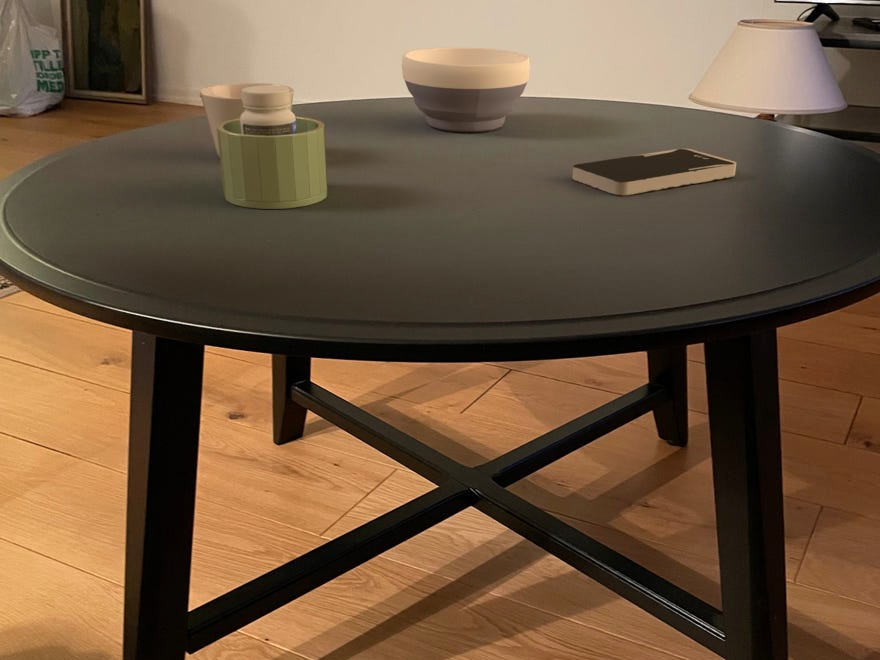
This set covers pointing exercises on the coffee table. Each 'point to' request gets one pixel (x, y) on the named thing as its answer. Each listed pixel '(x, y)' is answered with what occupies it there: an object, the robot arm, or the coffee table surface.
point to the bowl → (465, 86)
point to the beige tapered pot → (226, 104)
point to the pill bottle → (267, 111)
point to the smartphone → (653, 171)
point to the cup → (273, 166)
